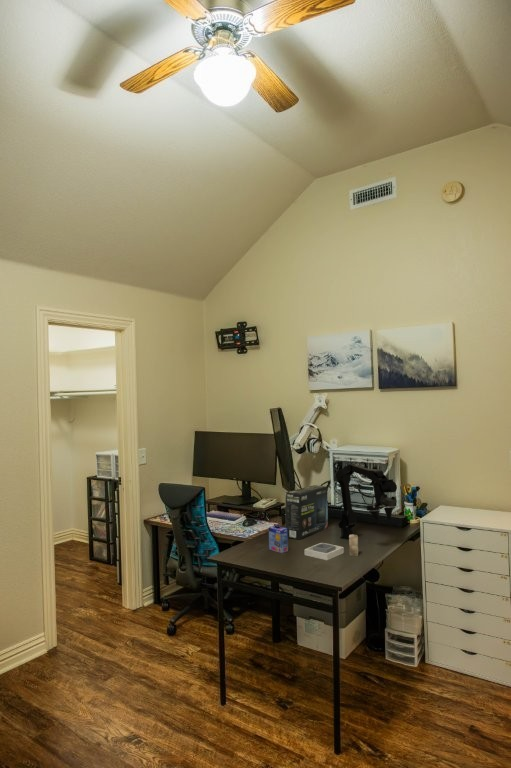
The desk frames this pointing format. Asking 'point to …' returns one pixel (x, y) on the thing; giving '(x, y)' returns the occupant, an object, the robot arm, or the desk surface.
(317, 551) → the housing
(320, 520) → the router box
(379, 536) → the desk surface
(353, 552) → the beige domed cylinder
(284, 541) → the ink cartridge box
